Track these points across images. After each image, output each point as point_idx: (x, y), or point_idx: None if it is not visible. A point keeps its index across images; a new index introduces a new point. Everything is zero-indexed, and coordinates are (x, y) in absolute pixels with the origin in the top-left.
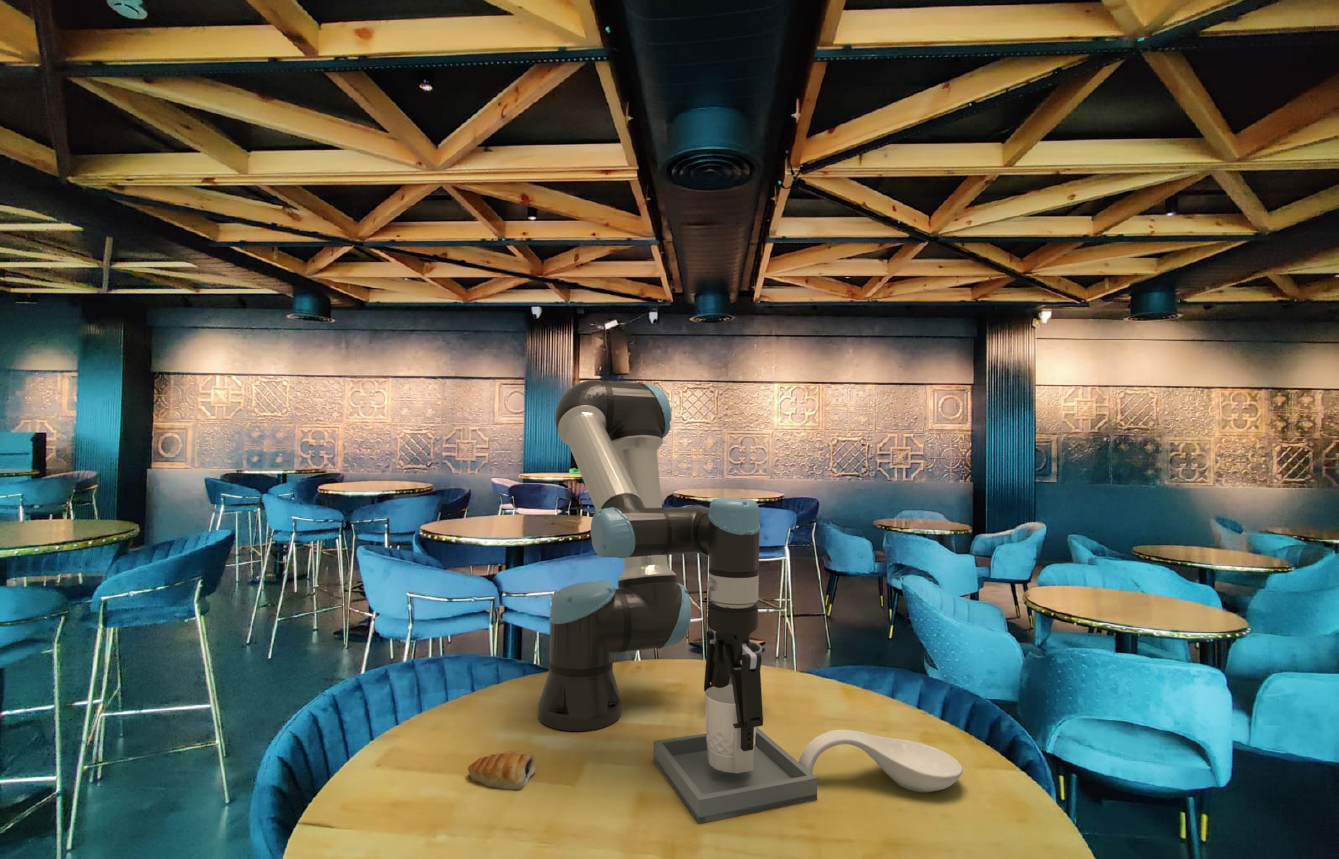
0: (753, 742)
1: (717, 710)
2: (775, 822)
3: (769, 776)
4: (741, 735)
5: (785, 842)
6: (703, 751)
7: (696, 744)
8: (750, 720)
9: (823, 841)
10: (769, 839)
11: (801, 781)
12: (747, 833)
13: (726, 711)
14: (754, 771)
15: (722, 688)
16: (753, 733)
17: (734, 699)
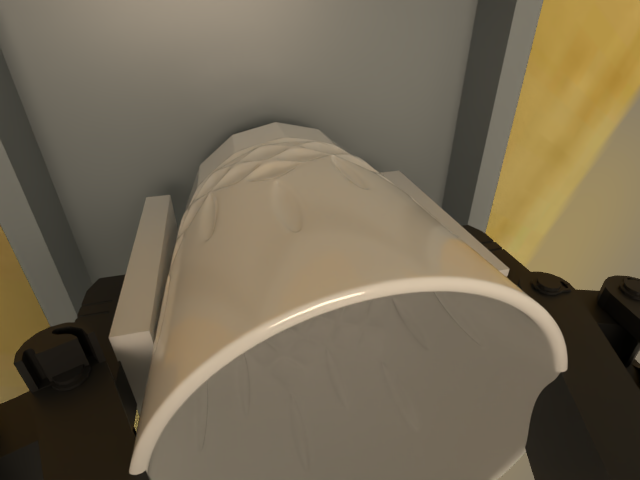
0: (453, 219)
1: (423, 463)
2: (512, 144)
3: (335, 56)
4: None
5: (577, 156)
6: (80, 236)
7: (75, 277)
8: (632, 359)
9: (634, 59)
10: (549, 187)
11: (539, 13)
12: (507, 224)
13: (467, 436)
14: (283, 99)
15: (151, 475)
16: (521, 265)
17: (536, 476)
